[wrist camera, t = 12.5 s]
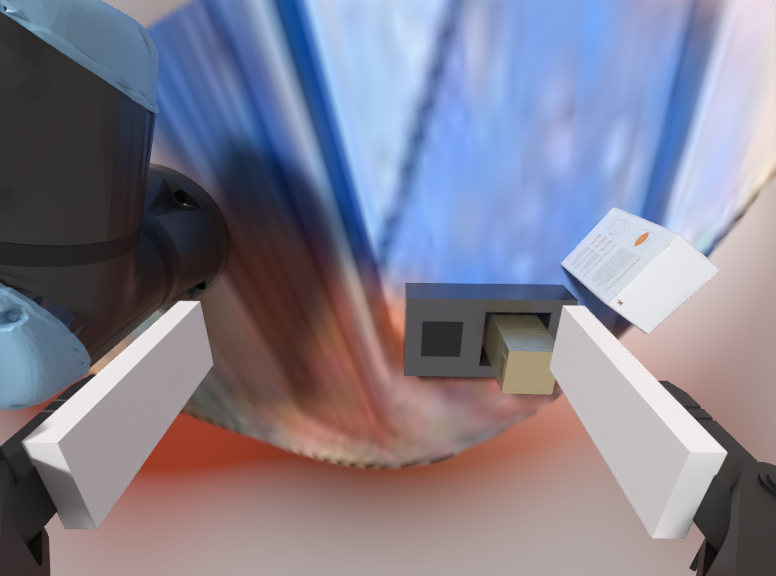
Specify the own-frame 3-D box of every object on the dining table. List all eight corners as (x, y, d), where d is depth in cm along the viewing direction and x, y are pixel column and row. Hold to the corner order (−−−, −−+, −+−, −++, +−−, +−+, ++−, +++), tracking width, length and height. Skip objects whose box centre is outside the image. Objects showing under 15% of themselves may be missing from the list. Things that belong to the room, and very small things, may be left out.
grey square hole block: (403, 356, 49) (404, 376, 45) (405, 283, 45) (406, 298, 41) (547, 357, 49) (560, 378, 45) (562, 284, 45) (578, 300, 41)
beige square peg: (480, 339, 48) (500, 393, 39) (485, 303, 46) (508, 350, 37) (522, 340, 48) (552, 394, 39) (529, 304, 46) (563, 352, 37)
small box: (593, 289, 45) (647, 338, 35) (558, 262, 44) (604, 305, 34) (649, 234, 42) (724, 271, 33) (613, 204, 41) (681, 233, 31)
